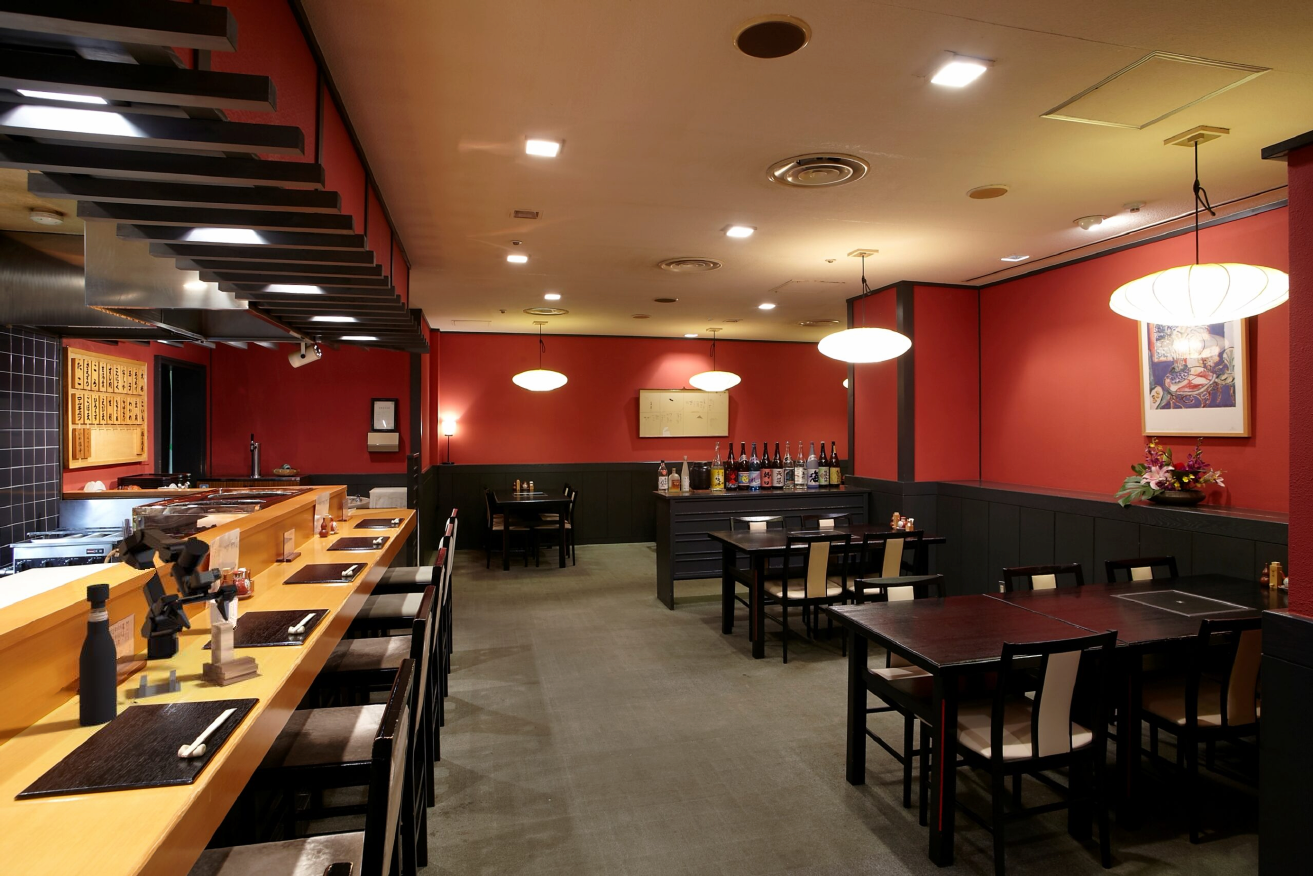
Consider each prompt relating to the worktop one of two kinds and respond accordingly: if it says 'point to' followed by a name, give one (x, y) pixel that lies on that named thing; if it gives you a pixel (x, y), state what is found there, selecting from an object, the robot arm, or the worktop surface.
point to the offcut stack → (235, 670)
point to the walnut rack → (210, 675)
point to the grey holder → (157, 687)
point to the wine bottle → (97, 664)
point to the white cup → (218, 618)
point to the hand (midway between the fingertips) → (208, 624)
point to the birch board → (221, 642)
